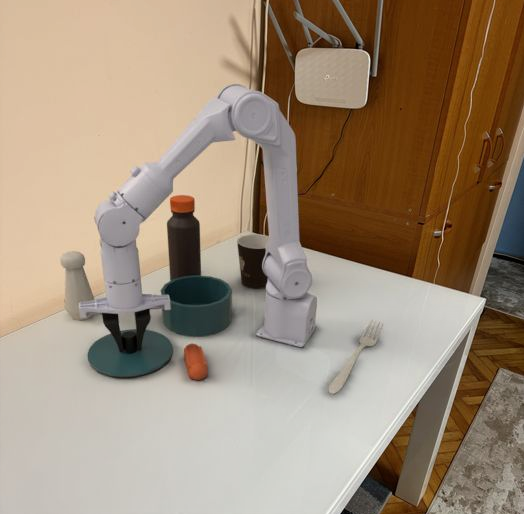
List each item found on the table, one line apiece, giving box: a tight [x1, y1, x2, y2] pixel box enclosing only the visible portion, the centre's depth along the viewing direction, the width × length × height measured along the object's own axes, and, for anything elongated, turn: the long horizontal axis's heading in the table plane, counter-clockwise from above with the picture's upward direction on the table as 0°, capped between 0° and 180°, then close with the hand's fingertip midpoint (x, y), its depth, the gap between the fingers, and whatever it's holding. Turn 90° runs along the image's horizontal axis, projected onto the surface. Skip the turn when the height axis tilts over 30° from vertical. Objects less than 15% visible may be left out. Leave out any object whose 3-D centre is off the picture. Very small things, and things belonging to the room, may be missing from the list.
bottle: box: [166, 194, 202, 281], centre depth 108 cm, size 7×7×20 cm
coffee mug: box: [236, 233, 269, 290], centre depth 115 cm, size 12×9×10 cm
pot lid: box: [87, 328, 173, 378], centre depth 88 cm, size 14×14×4 cm
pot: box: [160, 275, 233, 338], centre depth 100 cm, size 13×13×6 cm
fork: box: [328, 319, 384, 395], centre depth 91 cm, size 3×24×2 cm, turn 152°
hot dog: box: [183, 343, 208, 381], centre depth 86 cm, size 9×3×3 cm, turn 16°
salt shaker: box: [59, 250, 96, 321], centre depth 97 cm, size 6×6×13 cm
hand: (130, 347), depth 89 cm, fingers closed on pot lid, 2 cm apart
